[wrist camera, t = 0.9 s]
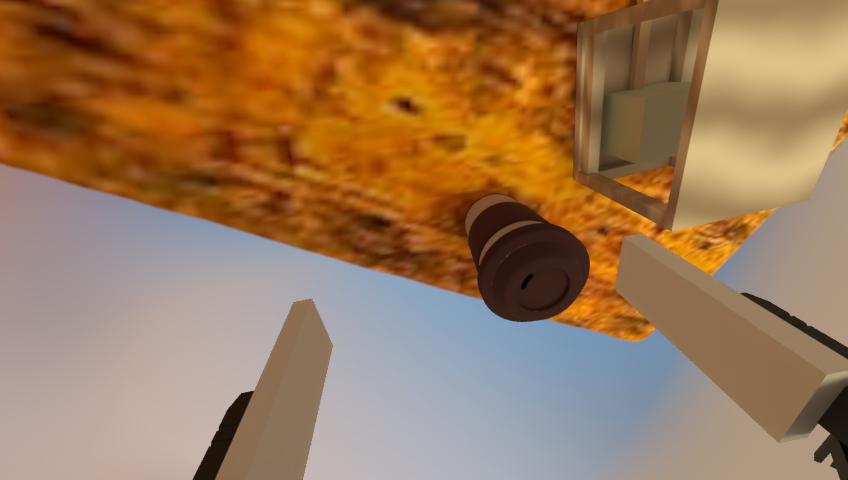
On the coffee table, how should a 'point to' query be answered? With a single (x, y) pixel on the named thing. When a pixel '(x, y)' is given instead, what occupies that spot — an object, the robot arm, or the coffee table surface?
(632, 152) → the tethered block
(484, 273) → the coffee cup
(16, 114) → the coffee table surface
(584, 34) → the frame
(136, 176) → the coffee table surface
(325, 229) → the coffee table surface
